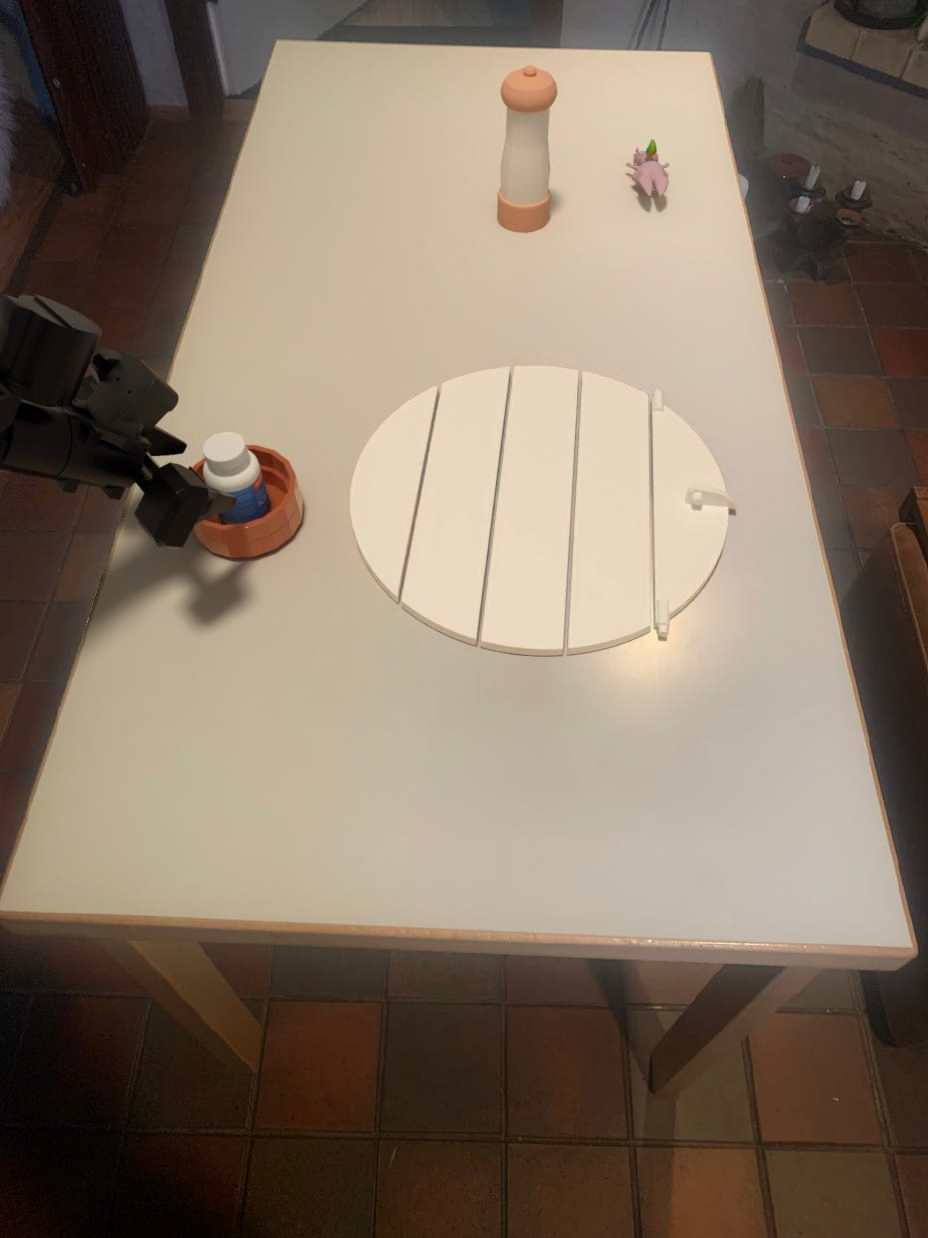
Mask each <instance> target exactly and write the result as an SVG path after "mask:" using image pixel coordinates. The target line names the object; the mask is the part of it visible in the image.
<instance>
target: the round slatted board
mask: <svg viewBox="0 0 928 1238" xmlns="http://www.w3.org/2000/svg"><path fill="white" fill-rule="evenodd" d="M579 373H580V371H579V369H575V368H567V367H562V366H561V367H560V366H549V365H515V366H513V371H512V380H511V387H510V397H509V404H508V411H507V412H508V413H507V420H506V421H507V422H506V429H505V436H504V445H503V453H502V461H501V469H500V479H499V487H498V493H497V494H498V495H497V503H496V510H495V511H496V512H495V518H494V519H495V520H494V527H493V536H492V543H491V552H490V562H489V567H488V578H487V585H486V593H485V602H484V611H483V619H482V628H481V635H480V648H483V649H487V650H492V651H494V652H495V651H496V652H500V653H507V654H514V655H523V656H539V657H543V656H544V657H550V656H554V657H555V656H563V653H564V652H563V651H564V641H565V639H564V638H565V624H566V623H565V622H566V606H567V605H566V604H567V601H566V600H567V586H568V585H567V584H568V571H569V570H568V569H569V568H568V567H569V550H570V535H571V534H570V533H571V517H572V515H571V514H572V499H573V498H572V497H573V496H572V495H573V482H574V481H573V479H574V466H575V465H574V463H575V444H576V429H577V428H576V427H577V410H578V409H577V408H578V391H579ZM510 378H511V366H501V367H494V368H490V369H489V368H488V369H483V370H478V371H474V372H471V373H467V374H463V375H460V376H457V377H454V378H451V379H449V380H445V381H444V382H442V383H441V388H440V391H439V384H437V385H435V386H432V387H430V388H428V389H426V390H424V391H423V392H421V393H419V394H417V395H416V396H414V397H412V398H410V399H409V400H408V401H406V402H404V404H402V405H401V406H400V407H399V408H397V409H396V410H395V411H394V412H392V414H390V415H389V416H388V417H387V418H386V419H385V420H384V421H383V422H382V423H381V424H380V425H379V427H377V428H376V430H375V431H374V433H373V434H372V435H371V436H370V438H369V439H368V441H367V443H366V444H365V446H364V447H363V450H361V453H360V455H359V457H358V459H357V462H356V465H355V467H354V470H353V474H352V478H351V483H350V489H349V515H350V522H351V526H352V527H351V528H352V532H353V536H354V539H355V544H356V546H357V549H358V552H359V554H360V556H361V558H362V560H363V562H364V564H365V566H366V568H367V569H368V571H369V572H370V574H371V575H372V577H373V578H374V580H375V581H376V582H377V584H378V585H379V586H380V587H381V588H382V590H383V591H384V592H385V593H386V594H387V595H388V596H389V597H390V598H391V599H392V600H393V601H394V602H395V603H396V604H399V602H400V603H401V608H402V609H403V610H404V611H406V612H407V613H409V614H410V615H411V616H413V617H414V618H416V619H417V620H419V621H420V622H422V623H423V624H425V625H427V626H429V627H430V628H432V629H434V630H435V631H438V632H440V633H442V634H443V635H446V636H449V637H451V638H453V639H455V640H458V641H461V642H464V643H465V644H469V645H472V646H477V644H478V643H477V642H478V634H479V626H480V619H481V618H480V617H481V610H482V603H483V595H484V593H483V592H484V587H485V586H484V585H485V579H486V571H487V562H488V554H489V546H490V537H491V530H492V522H493V515H494V507H495V506H494V505H495V499H496V498H495V497H496V490H497V483H498V482H497V481H498V475H499V466H500V458H501V451H502V443H503V433H504V426H505V419H506V409H507V402H508V393H509V386H510ZM439 392H440V393H439ZM579 396H580V400H579V414H578V416H579V417H578V418H579V419H578V433H577V435H578V437H577V454H576V470H575V471H576V473H575V492H574V494H575V495H574V510H573V528H572V547H571V566H570V584H569V585H570V586H569V605H568V621H567V622H568V623H567V639H566V655H578V654H585V653H591V652H595V651H600V650H605V649H608V648H611V647H615V646H618V645H621V644H624V643H626V642H630V641H632V640H635V639H636V638H639V637H641V636H643V635H645V634H647V633H649V632H650V629H651V627H652V619H653V630H655V629H658V630H657V631H658V634H657V635H658V636H659V637H661V638H665V637H667V636H668V635H669V630H668V629H669V628H670V625H671V623H670V622H671V621H670V620H671V619H672V618H673V617H675V616H676V615H678V613H680V612H681V611H682V610H683V609H684V608H686V606H688V605H689V603H691V602H692V600H694V598H695V597H696V596H697V595H698V594H699V593H700V592H701V590H702V589H703V588H704V586H705V585H706V583H707V582H708V580H709V579H710V578H711V575H712V574H713V572H714V570H715V568H716V566H717V564H718V561H719V559H720V556H721V554H722V551H723V549H724V545H725V541H726V538H727V534H728V528H729V515H730V514H729V513H730V512H729V509H736V510H737V509H738V503H737V500H736V498H735V497H734V496H732V495H731V494H730V493H728V492H727V488H726V485H725V480H724V478H723V475H722V472H721V470H720V468H719V466H718V464H717V463H718V462H717V461H716V459H715V457H714V456H713V454H712V452H711V451H710V449H709V448H708V446H707V444H706V443H705V442H704V440H702V438H701V437H700V435H698V433H697V432H696V431H695V430H694V429H693V427H691V426H690V425H689V424H688V423H687V422H686V421H685V420H684V419H683V418H682V417H680V416H679V414H677V413H676V412H675V411H673V410H672V409H671V408H669V407H668V406H666V405H665V403H664V402H665V401H664V392H663V391H662V389H661V388H655V389H654V390H653V394H652V397H651V399H650V407H649V395H648V394H647V393H646V392H643V391H642V390H639V389H638V388H636V387H633V386H631V385H629V384H626V383H625V382H622V381H619V380H616V379H614V378H610V377H608V376H605V375H601V374H598V373H594V372H590V371H585V370H582V371H581V379H580V395H579ZM437 403H438V404H437ZM436 408H437V409H436ZM649 410H650V415H649ZM435 413H436V414H435ZM649 416H650V417H649ZM434 418H435V420H434ZM649 421H650V422H649ZM649 423H650V424H649ZM649 425H650V426H649ZM649 427H650V428H649ZM432 428H433V429H432ZM649 434H650V435H649ZM431 435H432V436H431ZM429 444H430V447H429ZM428 450H429V452H428ZM427 455H428V457H427ZM650 471H651V472H650ZM424 472H425V474H424ZM650 475H651V477H650ZM423 476H424V478H423ZM650 479H651V495H650ZM422 480H423V481H422ZM421 486H422V487H421ZM420 492H421V493H420ZM419 496H420V498H419ZM650 496H651V498H650ZM650 499H651V505H650ZM418 502H419V504H418ZM417 507H418V509H417ZM650 507H651V509H650ZM416 512H417V514H416ZM650 512H651V513H650ZM415 517H416V519H415ZM650 519H651V520H650ZM414 523H415V525H414ZM413 529H414V530H413ZM412 534H413V536H412ZM411 539H412V541H411ZM410 543H411V545H410ZM651 543H652V544H651ZM651 546H652V548H651ZM409 549H410V551H409ZM651 549H652V551H651ZM651 552H652V553H651ZM408 554H409V556H408ZM651 555H652V581H651ZM407 559H408V561H407ZM406 565H407V567H406ZM405 570H406V572H405ZM404 575H405V577H404ZM403 580H404V581H403ZM403 582H404V583H403ZM651 582H652V584H651ZM402 585H403V587H402ZM651 585H652V590H651ZM401 590H402V593H401ZM400 596H401V599H400ZM652 614H653V615H652ZM652 616H653V617H652Z"/></svg>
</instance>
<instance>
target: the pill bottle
mask: <svg viewBox="0 0 928 1238" xmlns="http://www.w3.org/2000/svg"><path fill="white" fill-rule="evenodd" d="M246 445H247V444H246V442H245V439H244V438H243V436H242V435H240V434H238V433H236V432H234V431H221V432H218V433H214V434H213V435H210V437H208V438H207V439H206V440H205V441H204V443H203V445H202V453H203V458H205V460H206V462H205V464H204V466H203V475H204V479H205V481H206V484H207V486H209V487H212V488H215V489H218V490H221V491H223V492H226V493H228V494H231V495H233V496H235V497H236V498H237V501H236V503H235V505H234V507H233V508H231V509H229V510H227V511H224V512H222V513H220V514H218V516H219V519H220V521H221V523H222V525H234V524H245V523H248V522H251V521H254V520H257V519H260V518H263V517H264V516H266V515H267V514H268V513H270V512H271V511H272V506H271V502H270V499H269V495H268V492H267V489H266V485H265V482H264V478H263V475H262V471H261V468H260V465H259V462H258V460H257V458H256V456H255V455H254V454H253V453H252V452H251V451H249V450H248V449H247V446H246Z"/></svg>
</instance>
